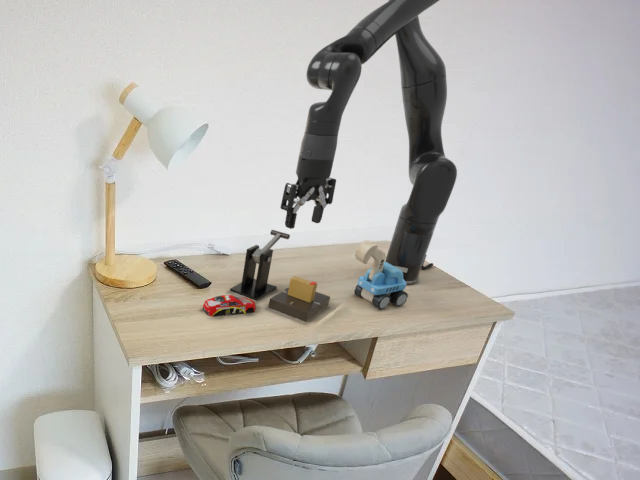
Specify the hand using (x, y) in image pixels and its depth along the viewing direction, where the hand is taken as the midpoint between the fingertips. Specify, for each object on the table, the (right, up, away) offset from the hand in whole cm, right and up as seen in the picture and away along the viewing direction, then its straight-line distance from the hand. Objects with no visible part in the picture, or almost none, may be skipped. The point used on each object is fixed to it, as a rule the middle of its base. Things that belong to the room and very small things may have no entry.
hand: (302, 225), depth 122 cm
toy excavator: (+20, -18, +9) cm, 28 cm away
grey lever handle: (-5, -4, +10) cm, 12 cm away
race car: (-17, -21, +3) cm, 27 cm away
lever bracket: (-9, -15, +13) cm, 21 cm away
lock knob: (+1, -17, +4) cm, 17 cm away
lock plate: (+1, -20, +5) cm, 20 cm away
